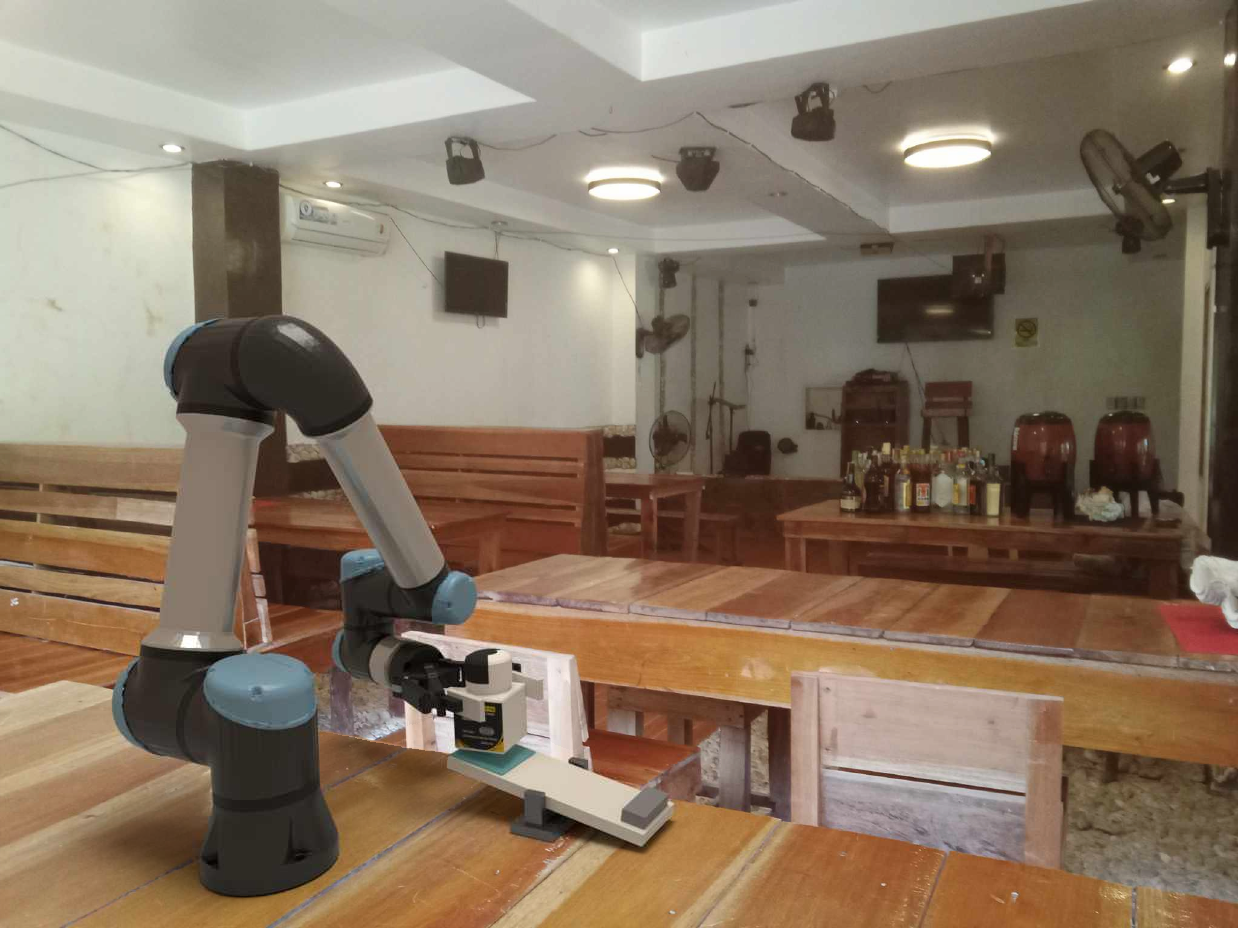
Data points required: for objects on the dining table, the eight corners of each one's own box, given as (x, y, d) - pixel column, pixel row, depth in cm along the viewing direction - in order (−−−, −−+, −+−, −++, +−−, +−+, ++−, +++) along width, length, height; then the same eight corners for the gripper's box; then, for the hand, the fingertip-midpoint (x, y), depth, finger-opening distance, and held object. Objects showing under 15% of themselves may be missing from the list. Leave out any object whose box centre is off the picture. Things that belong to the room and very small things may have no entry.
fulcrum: (603, 798, 125) (602, 760, 124) (552, 842, 113) (551, 800, 113) (563, 790, 127) (562, 752, 127) (510, 832, 116) (508, 791, 115)
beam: (672, 814, 118) (676, 791, 118) (641, 846, 110) (645, 822, 110) (486, 742, 130) (489, 722, 130) (446, 767, 122) (449, 745, 122)
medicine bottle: (454, 749, 122) (449, 658, 121) (480, 729, 129) (476, 642, 128) (503, 755, 120) (499, 662, 119) (528, 734, 126) (524, 646, 125)
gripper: (470, 672, 144) (574, 704, 129) (342, 713, 128) (444, 755, 113) (468, 624, 143) (572, 650, 128) (339, 659, 128) (441, 694, 112)
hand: (512, 699), depth 121 cm, fingers closed on medicine bottle, 9 cm apart
